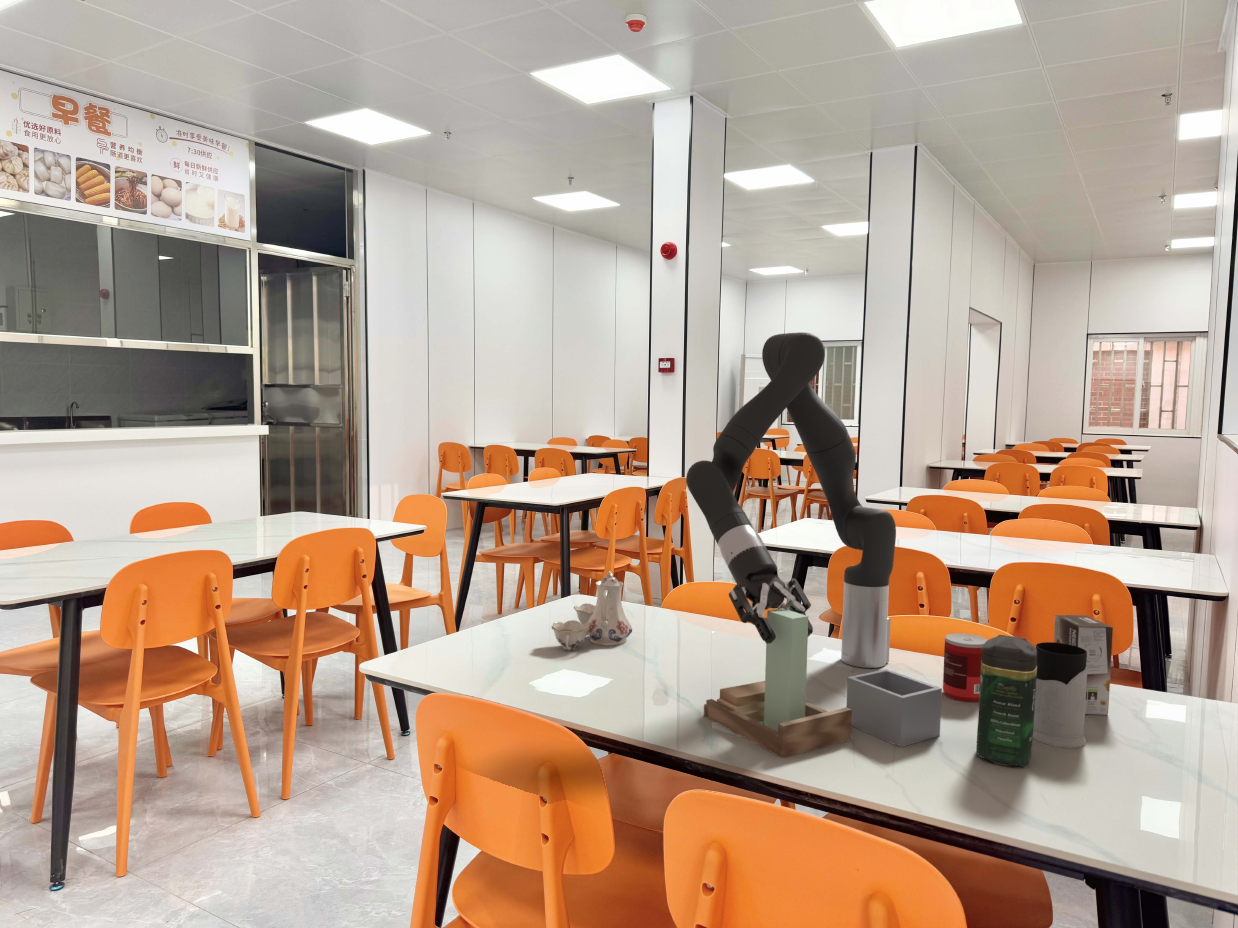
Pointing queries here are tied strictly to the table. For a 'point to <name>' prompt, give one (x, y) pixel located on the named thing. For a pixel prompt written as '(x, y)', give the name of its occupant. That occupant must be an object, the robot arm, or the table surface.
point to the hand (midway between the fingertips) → (790, 637)
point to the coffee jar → (1007, 700)
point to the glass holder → (1060, 695)
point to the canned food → (962, 666)
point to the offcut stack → (745, 699)
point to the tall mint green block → (786, 668)
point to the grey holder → (894, 707)
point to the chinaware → (597, 619)
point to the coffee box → (1090, 655)
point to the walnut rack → (787, 728)
